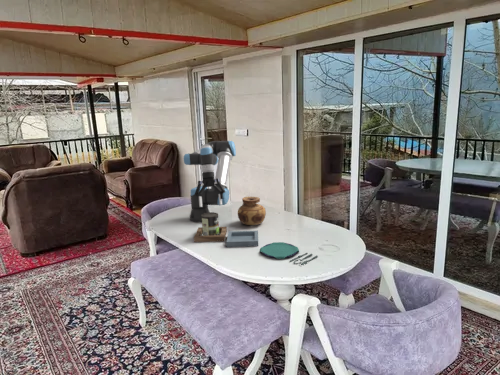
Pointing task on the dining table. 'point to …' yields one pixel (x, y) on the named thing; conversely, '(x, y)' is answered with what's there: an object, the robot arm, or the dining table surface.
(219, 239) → the wooden square frame
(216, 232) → the coffee can
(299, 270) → the dining table surface
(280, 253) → the cutlery set
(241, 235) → the tray
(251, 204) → the clay pot
